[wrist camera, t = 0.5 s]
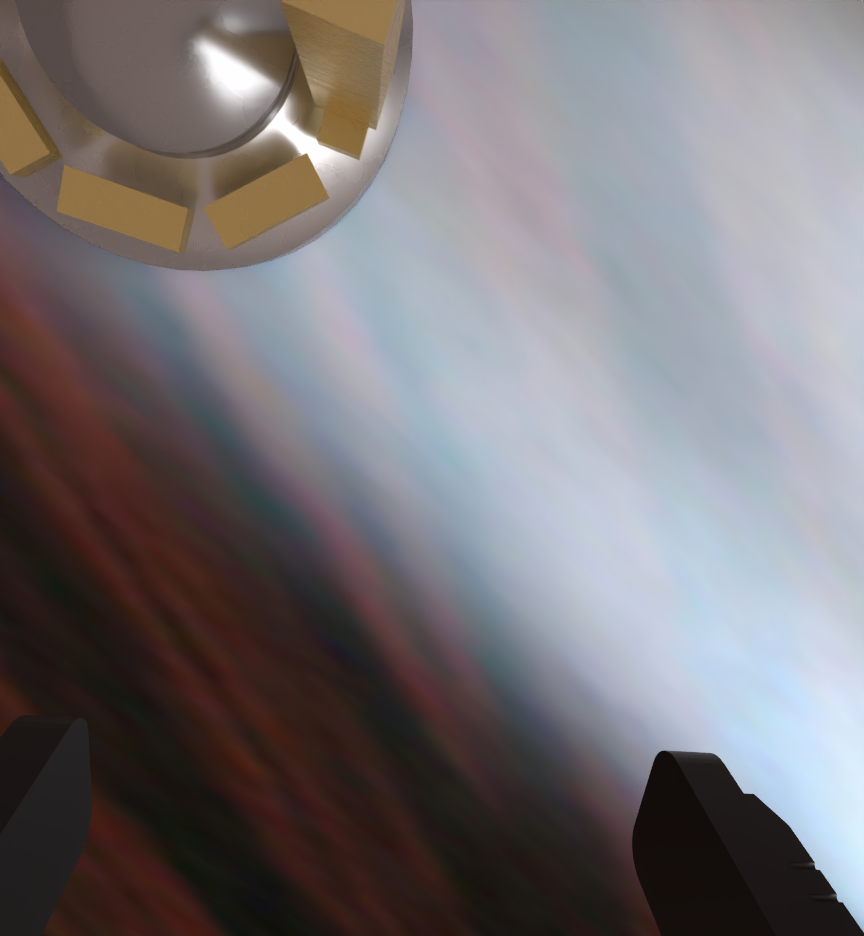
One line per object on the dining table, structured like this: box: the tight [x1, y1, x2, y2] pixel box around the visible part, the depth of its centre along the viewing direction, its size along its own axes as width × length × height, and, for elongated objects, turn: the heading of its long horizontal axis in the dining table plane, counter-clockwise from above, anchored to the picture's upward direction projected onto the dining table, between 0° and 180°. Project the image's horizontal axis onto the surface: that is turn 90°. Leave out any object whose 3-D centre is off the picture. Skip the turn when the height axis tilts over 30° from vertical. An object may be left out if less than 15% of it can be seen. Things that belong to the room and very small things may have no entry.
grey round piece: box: [0, 0, 413, 271], centre depth 26 cm, size 19×19×5 cm
